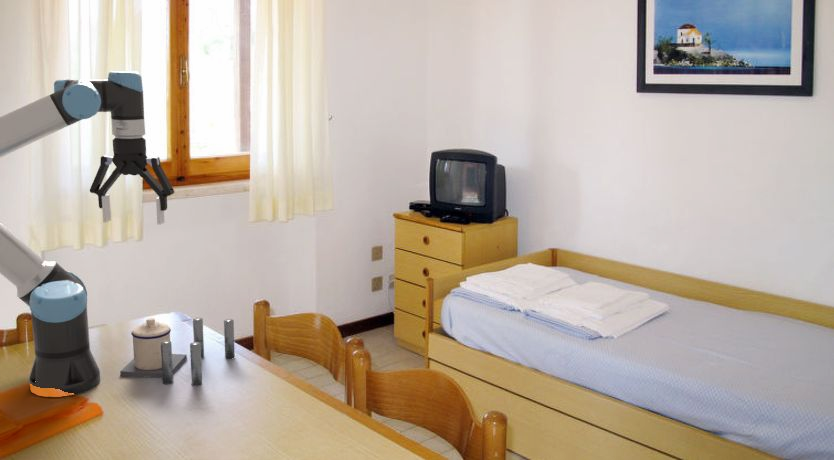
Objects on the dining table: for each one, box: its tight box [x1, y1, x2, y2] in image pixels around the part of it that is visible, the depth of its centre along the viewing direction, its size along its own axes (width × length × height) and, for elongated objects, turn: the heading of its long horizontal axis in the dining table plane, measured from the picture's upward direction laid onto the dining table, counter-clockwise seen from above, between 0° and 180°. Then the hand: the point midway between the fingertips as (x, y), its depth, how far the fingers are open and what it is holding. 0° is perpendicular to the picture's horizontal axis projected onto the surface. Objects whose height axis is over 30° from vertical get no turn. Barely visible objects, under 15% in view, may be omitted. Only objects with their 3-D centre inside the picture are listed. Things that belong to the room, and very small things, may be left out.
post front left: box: [161, 340, 174, 385], centre depth 185 cm, size 2×2×10 cm
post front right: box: [189, 341, 203, 387], centre depth 185 cm, size 2×2×10 cm
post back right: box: [223, 318, 236, 360], centre depth 200 cm, size 2×2×10 cm
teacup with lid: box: [130, 317, 172, 370], centre depth 193 cm, size 12×9×12 cm
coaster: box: [119, 353, 188, 379], centre depth 194 cm, size 12×12×1 cm
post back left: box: [192, 317, 205, 358], centre depth 201 cm, size 2×2×10 cm
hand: (134, 222), depth 195 cm, fingers open, 13 cm apart
